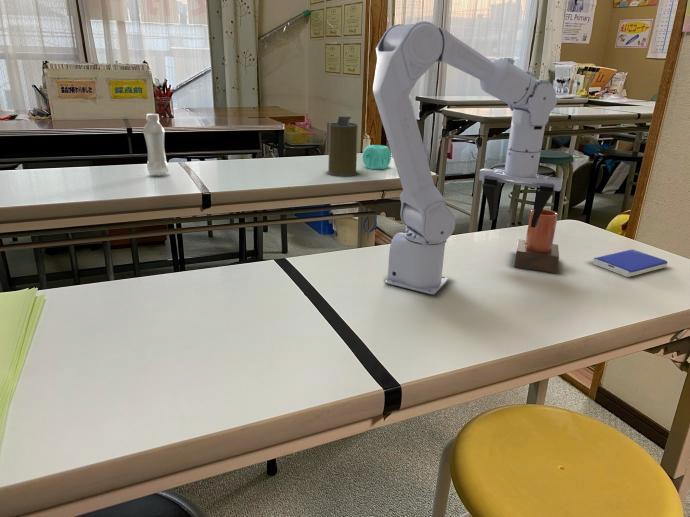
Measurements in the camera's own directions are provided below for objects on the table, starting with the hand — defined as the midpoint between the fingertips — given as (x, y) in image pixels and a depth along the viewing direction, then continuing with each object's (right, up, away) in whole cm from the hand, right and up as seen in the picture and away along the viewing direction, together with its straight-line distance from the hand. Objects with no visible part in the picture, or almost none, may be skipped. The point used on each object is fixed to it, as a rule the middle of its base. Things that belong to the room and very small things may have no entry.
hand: (512, 222), depth 97 cm
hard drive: (+27, -9, +10) cm, 30 cm away
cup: (+8, -5, +8) cm, 12 cm away
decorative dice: (-20, +28, +101) cm, 107 cm away
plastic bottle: (-95, +21, +76) cm, 123 cm away
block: (+8, -8, +9) cm, 14 cm away
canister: (-33, +24, +89) cm, 98 cm away
